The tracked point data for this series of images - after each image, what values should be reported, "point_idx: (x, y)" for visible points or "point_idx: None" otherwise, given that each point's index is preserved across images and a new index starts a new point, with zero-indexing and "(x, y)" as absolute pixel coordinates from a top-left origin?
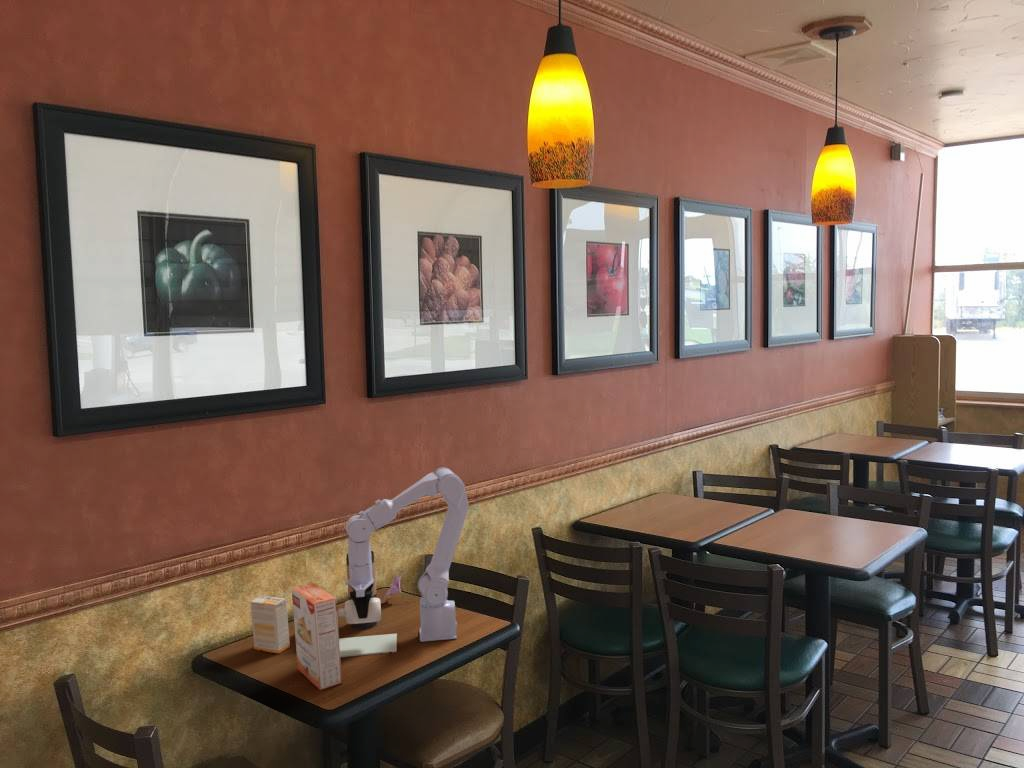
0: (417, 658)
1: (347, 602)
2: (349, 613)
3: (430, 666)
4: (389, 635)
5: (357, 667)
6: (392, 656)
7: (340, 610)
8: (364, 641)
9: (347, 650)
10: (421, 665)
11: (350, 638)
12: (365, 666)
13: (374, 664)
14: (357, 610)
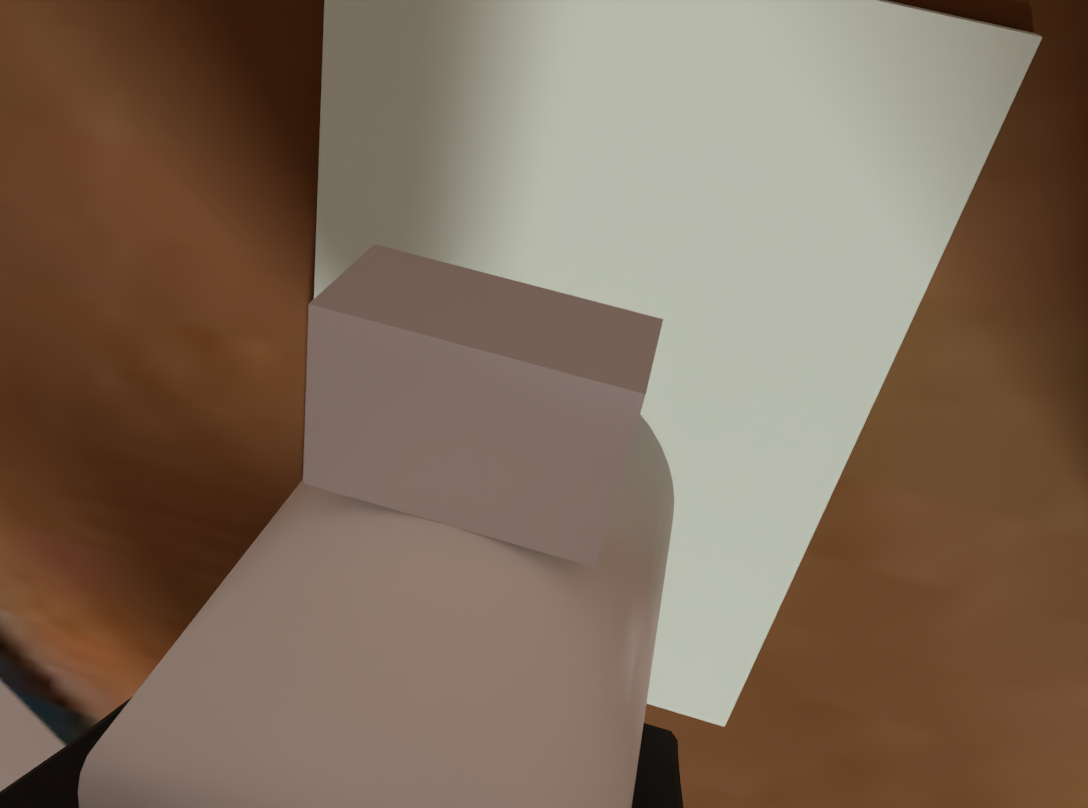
0: (153, 666)
1: (342, 791)
2: (254, 544)
3: (9, 681)
4: (707, 663)
5: (20, 179)
6: (228, 535)
7: (443, 397)
8: (676, 411)
9: (472, 152)
10: (29, 646)
11: (894, 272)
12: (39, 264)
13: (77, 355)
14: (86, 744)
